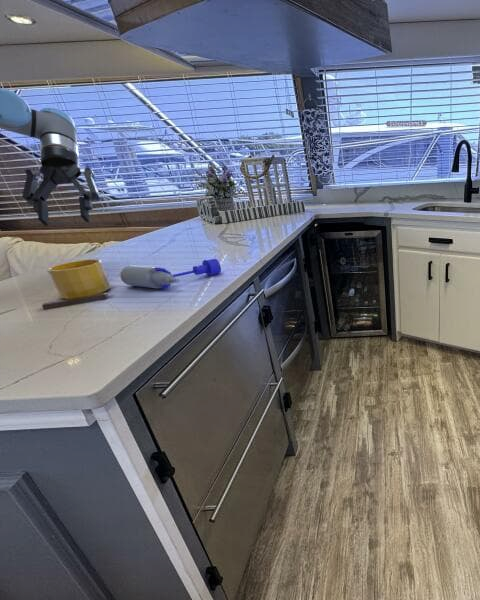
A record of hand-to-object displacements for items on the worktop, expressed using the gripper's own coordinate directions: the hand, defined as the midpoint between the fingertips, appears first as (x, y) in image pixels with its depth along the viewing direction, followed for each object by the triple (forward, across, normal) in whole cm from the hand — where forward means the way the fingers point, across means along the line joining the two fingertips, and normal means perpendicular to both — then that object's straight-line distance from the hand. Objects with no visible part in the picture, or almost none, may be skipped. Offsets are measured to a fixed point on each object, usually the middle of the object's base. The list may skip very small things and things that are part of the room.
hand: (64, 220), depth 85 cm
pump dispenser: (+21, -21, -6) cm, 30 cm away
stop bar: (+23, 0, -3) cm, 23 cm away
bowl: (+18, 0, -8) cm, 20 cm away
